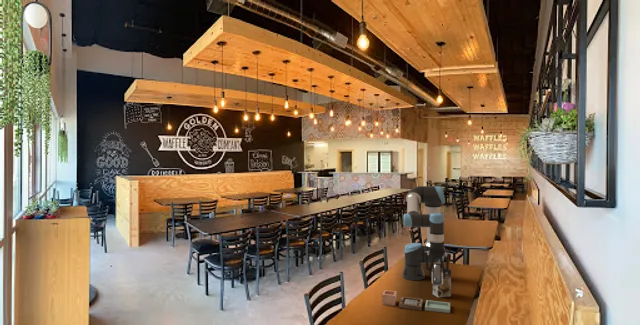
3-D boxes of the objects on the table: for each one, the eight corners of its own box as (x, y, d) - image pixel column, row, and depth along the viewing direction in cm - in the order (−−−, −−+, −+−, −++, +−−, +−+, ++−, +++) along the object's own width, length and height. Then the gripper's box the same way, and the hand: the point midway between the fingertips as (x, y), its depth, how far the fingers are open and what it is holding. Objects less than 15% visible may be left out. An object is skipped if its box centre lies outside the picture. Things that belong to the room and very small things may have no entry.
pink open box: (384, 300, 219) (384, 290, 219) (396, 301, 217) (396, 291, 217) (382, 304, 213) (382, 294, 213) (394, 306, 210) (394, 295, 210)
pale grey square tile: (405, 300, 216) (405, 299, 216) (418, 302, 214) (418, 300, 214) (404, 305, 210) (404, 303, 210) (416, 306, 207) (416, 305, 207)
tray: (426, 303, 214) (426, 300, 214) (450, 306, 209) (450, 302, 209) (424, 310, 204) (424, 306, 204) (449, 313, 200) (449, 309, 200)
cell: (433, 281, 209) (433, 260, 209) (441, 282, 208) (441, 261, 208) (432, 284, 205) (432, 263, 205) (441, 285, 204) (441, 263, 203)
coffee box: (438, 298, 222) (438, 271, 221) (432, 294, 228) (432, 268, 228) (451, 296, 224) (451, 269, 224) (445, 292, 230) (445, 266, 230)
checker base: (401, 299, 219) (401, 296, 219) (422, 302, 215) (422, 298, 215) (398, 307, 208) (398, 304, 208) (421, 310, 204) (421, 306, 204)
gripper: (420, 241, 206) (420, 283, 206) (453, 243, 200) (454, 286, 200) (421, 238, 213) (421, 279, 213) (453, 240, 207) (454, 282, 207)
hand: (437, 283), depth 206 cm, fingers closed on cell, 4 cm apart
